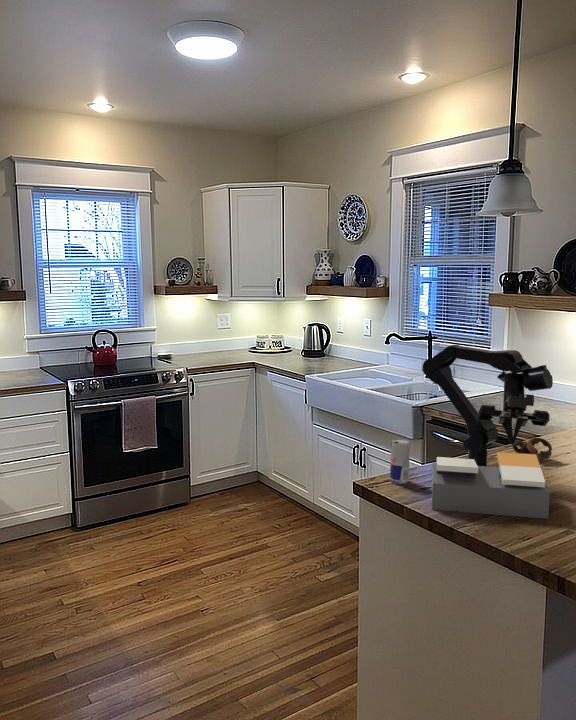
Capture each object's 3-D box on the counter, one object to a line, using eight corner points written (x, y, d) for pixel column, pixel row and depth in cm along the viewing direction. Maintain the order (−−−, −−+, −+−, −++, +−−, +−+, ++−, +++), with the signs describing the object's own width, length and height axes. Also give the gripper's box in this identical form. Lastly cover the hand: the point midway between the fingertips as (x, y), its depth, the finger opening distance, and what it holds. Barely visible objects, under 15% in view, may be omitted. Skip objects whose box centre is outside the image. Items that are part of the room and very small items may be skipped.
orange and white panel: (496, 456, 175) (497, 452, 175) (535, 459, 173) (536, 454, 173) (502, 484, 160) (502, 479, 160) (545, 487, 158) (545, 482, 158)
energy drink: (388, 478, 188) (389, 438, 187) (406, 478, 189) (407, 438, 187) (392, 484, 183) (393, 443, 181) (410, 484, 183) (412, 443, 182)
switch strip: (432, 486, 181) (433, 457, 180) (537, 494, 175) (538, 464, 174) (431, 509, 164) (433, 477, 163) (548, 518, 158) (550, 485, 157)
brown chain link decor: (544, 456, 212) (554, 439, 207) (545, 476, 205) (555, 458, 200) (508, 445, 214) (516, 428, 209) (507, 465, 207) (516, 447, 202)
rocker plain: (436, 461, 179) (436, 456, 179) (473, 464, 177) (473, 459, 177) (437, 470, 163) (437, 465, 163) (478, 473, 161) (478, 467, 161)
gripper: (484, 379, 181) (481, 432, 176) (554, 385, 178) (553, 440, 172) (479, 393, 192) (476, 443, 186) (545, 399, 188) (544, 450, 182)
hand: (512, 444), depth 181 cm, fingers closed
